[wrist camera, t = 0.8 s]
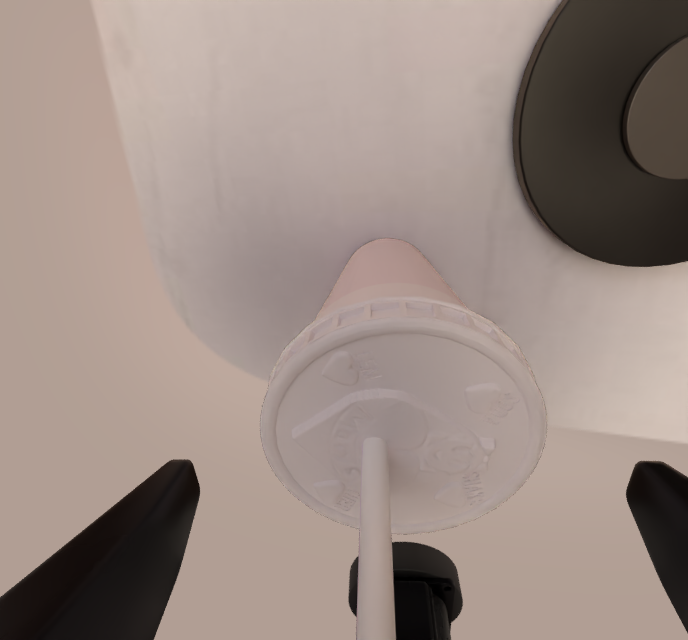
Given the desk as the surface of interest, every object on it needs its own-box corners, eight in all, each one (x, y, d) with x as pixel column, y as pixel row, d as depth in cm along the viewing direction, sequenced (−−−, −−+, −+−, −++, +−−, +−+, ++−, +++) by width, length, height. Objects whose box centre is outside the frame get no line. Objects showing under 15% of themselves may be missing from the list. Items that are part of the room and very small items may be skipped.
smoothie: (316, 196, 16) (136, 489, 4) (479, 212, 16) (831, 568, 4) (309, 337, 19) (193, 758, 7) (446, 352, 19) (582, 805, 7)
